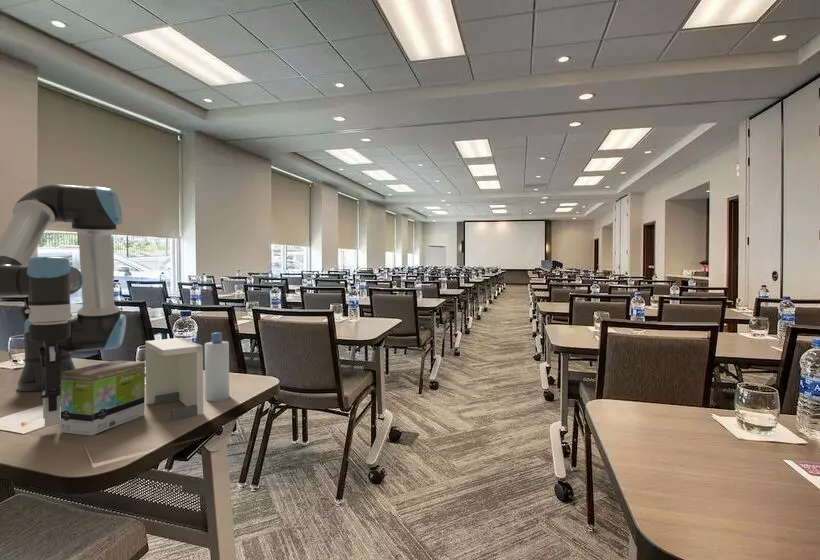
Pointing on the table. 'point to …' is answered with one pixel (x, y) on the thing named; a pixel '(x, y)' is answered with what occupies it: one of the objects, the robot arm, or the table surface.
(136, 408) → the tea box
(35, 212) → the robot arm
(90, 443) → the table surface
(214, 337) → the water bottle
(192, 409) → the rails
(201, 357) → the shelf
